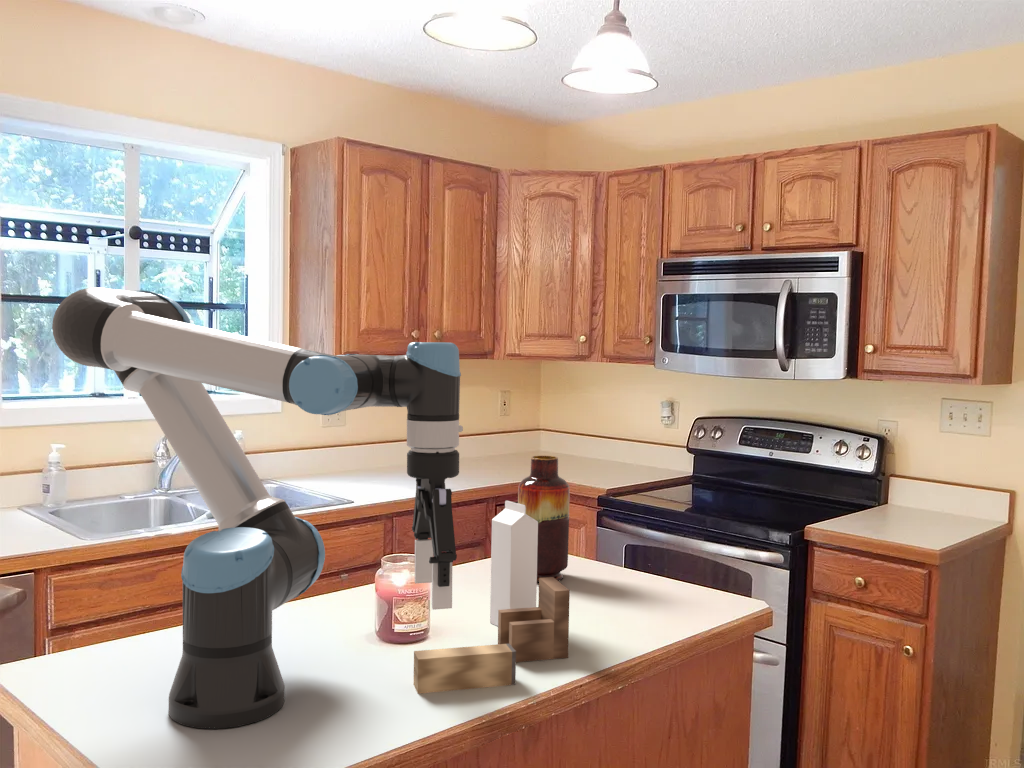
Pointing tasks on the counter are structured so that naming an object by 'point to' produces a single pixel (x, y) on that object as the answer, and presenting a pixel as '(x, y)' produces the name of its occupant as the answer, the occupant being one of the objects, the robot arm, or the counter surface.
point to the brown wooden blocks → (538, 624)
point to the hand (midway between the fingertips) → (432, 594)
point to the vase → (548, 514)
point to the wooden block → (464, 668)
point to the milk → (513, 560)
